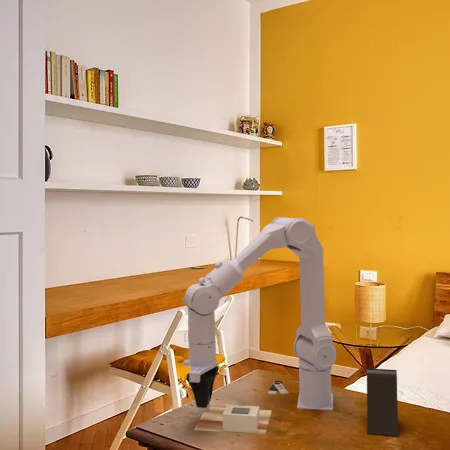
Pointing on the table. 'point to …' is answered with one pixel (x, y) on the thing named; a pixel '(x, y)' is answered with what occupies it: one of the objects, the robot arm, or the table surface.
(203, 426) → the panel
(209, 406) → the grey capped cylinder
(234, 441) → the table surface
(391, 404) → the phone stand
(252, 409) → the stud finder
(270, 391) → the usb flash drive
